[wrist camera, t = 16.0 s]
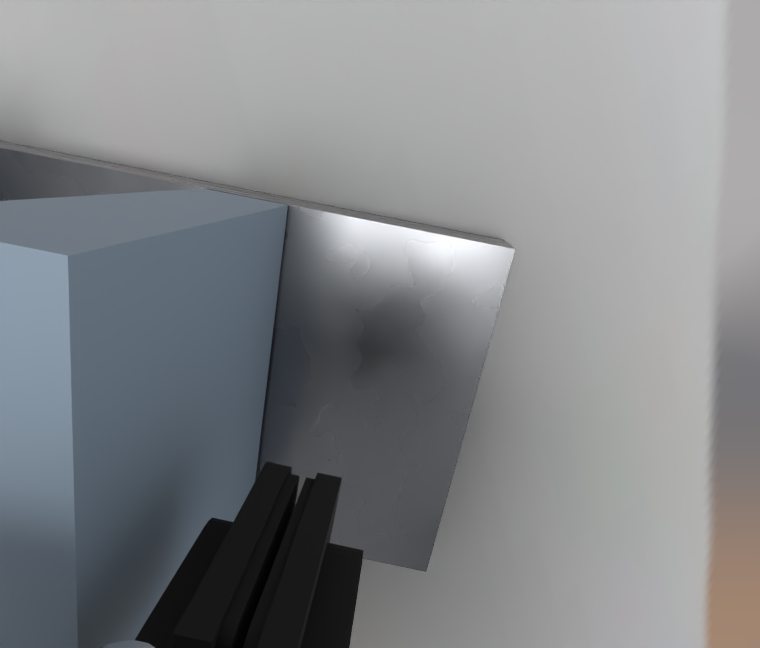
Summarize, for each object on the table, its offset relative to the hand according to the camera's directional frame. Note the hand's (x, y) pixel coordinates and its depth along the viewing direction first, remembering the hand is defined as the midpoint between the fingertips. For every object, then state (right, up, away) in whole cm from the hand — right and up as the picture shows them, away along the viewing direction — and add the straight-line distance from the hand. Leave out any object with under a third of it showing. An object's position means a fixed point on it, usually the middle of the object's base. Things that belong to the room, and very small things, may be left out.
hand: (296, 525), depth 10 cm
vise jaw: (-3, +2, +5) cm, 7 cm away
